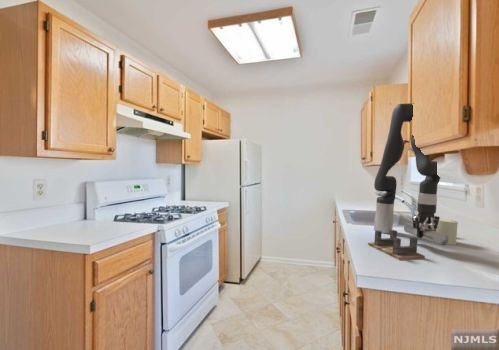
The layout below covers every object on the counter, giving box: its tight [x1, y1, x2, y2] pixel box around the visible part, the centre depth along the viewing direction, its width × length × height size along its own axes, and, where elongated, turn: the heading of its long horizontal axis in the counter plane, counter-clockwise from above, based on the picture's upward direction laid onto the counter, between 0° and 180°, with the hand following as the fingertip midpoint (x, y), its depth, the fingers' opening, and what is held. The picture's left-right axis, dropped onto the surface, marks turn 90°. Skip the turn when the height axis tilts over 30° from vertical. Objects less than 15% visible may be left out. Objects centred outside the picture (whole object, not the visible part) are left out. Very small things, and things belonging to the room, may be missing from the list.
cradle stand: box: [367, 229, 426, 261], centre depth 122 cm, size 20×13×8 cm, turn 12°
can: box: [436, 218, 459, 245], centre depth 140 cm, size 9×9×12 cm
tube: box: [403, 222, 449, 246], centre depth 128 cm, size 20×5×5 cm, turn 13°
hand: (424, 237), depth 128 cm, fingers closed on tube, 5 cm apart
